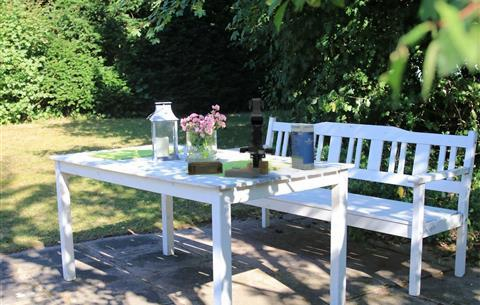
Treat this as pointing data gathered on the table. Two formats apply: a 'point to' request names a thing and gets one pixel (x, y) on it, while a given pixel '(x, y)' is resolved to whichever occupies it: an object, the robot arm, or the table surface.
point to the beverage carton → (205, 168)
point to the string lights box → (302, 146)
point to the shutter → (249, 167)
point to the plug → (263, 167)
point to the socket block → (242, 172)
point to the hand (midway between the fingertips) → (257, 166)
